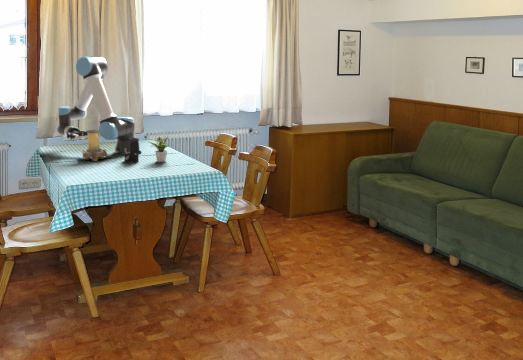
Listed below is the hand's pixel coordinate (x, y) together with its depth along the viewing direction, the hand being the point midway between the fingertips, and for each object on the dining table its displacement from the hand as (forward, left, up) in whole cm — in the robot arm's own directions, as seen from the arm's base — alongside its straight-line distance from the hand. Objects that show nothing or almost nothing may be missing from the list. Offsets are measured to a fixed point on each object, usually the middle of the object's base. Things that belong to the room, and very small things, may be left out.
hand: (88, 136), depth 397 cm
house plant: (-42, +23, -14) cm, 49 cm away
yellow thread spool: (-3, +5, -9) cm, 11 cm away
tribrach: (-3, +6, -14) cm, 15 cm away
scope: (-25, +20, -14) cm, 34 cm away
